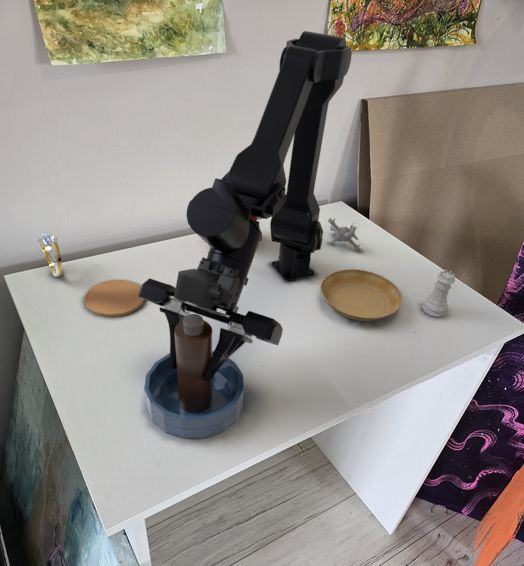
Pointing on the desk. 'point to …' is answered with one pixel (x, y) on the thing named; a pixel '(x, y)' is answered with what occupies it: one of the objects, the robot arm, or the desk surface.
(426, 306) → the rook chess piece
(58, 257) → the ring
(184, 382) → the bottle
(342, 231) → the gray branched figurine
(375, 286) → the plant saucer
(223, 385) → the bowl
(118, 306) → the cork coaster
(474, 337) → the desk surface
